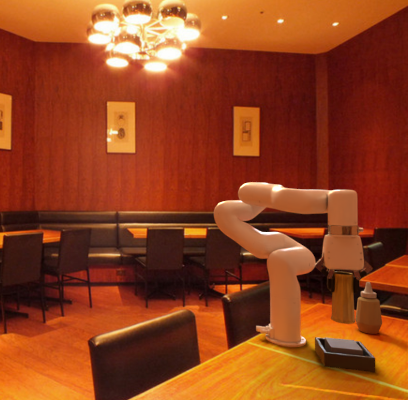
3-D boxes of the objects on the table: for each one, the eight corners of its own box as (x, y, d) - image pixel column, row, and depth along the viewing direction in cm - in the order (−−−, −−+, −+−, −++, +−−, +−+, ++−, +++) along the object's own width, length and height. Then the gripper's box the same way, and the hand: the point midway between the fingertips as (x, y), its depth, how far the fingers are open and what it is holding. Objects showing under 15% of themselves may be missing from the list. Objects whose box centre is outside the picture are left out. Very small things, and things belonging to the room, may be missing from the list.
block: (331, 364, 110) (331, 347, 110) (324, 353, 117) (324, 337, 117) (363, 367, 107) (363, 350, 107) (354, 356, 115) (354, 340, 115)
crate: (324, 368, 108) (324, 352, 108) (314, 351, 120) (314, 337, 120) (375, 374, 104) (375, 358, 104) (360, 355, 116) (360, 341, 116)
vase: (359, 324, 109) (359, 275, 109) (338, 324, 109) (338, 275, 109) (346, 317, 115) (346, 271, 115) (326, 317, 115) (326, 271, 115)
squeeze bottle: (383, 337, 131) (383, 285, 131) (355, 333, 136) (355, 283, 136) (381, 330, 138) (381, 281, 138) (355, 326, 143) (354, 279, 142)
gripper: (371, 230, 113) (371, 290, 113) (308, 229, 118) (308, 287, 118) (381, 233, 106) (381, 297, 106) (313, 231, 111) (313, 293, 111)
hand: (342, 291), depth 112 cm, fingers closed on vase, 5 cm apart
